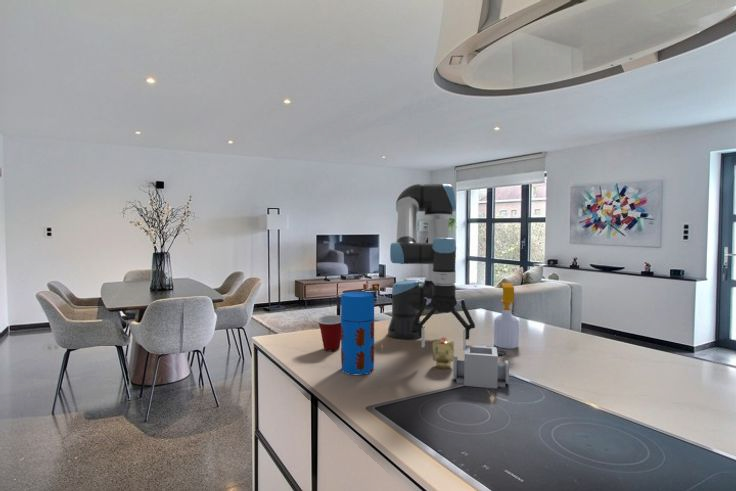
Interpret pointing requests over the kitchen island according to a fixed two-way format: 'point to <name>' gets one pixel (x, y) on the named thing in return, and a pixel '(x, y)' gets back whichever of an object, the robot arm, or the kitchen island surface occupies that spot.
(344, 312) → the thermos
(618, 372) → the kitchen island surface
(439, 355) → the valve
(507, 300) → the soap bottle
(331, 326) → the plastic cup
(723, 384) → the kitchen island surface
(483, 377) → the grey box with flanges
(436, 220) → the robot arm
